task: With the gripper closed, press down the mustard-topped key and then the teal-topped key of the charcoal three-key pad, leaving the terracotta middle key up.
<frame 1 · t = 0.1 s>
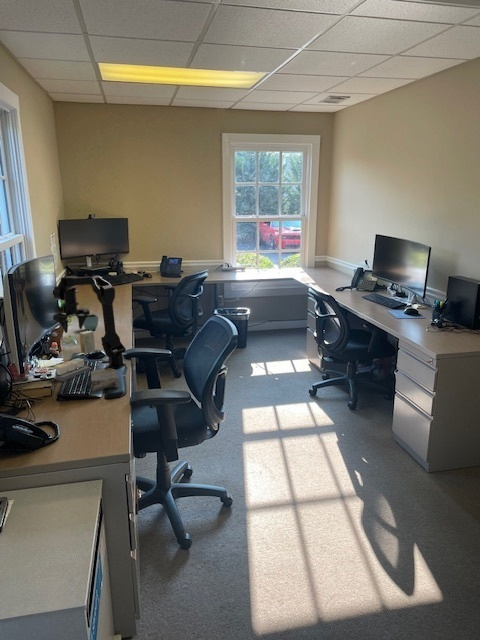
hand: (73, 330, 237), 15 cm above the table, fingers open, 9 cm apart
skincare box: (88, 354, 247), on the table
geological specimen: (104, 385, 203), on the table
key 3: (60, 369, 211), point 4 cm above the table, slide at 0.0 cm
keypad base: (70, 374, 216), on the table
key 2: (69, 366, 215), point 4 cm above the table, slide at 0.0 cm
flower pot: (90, 329, 299), on the table
key 1: (77, 363, 219), point 4 cm above the table, slide at 0.0 cm
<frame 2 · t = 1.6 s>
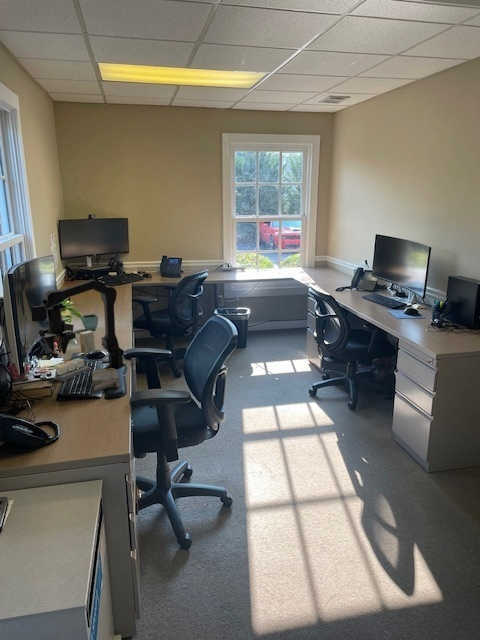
hand: (58, 352, 209), 12 cm above the table, fingers open, 7 cm apart
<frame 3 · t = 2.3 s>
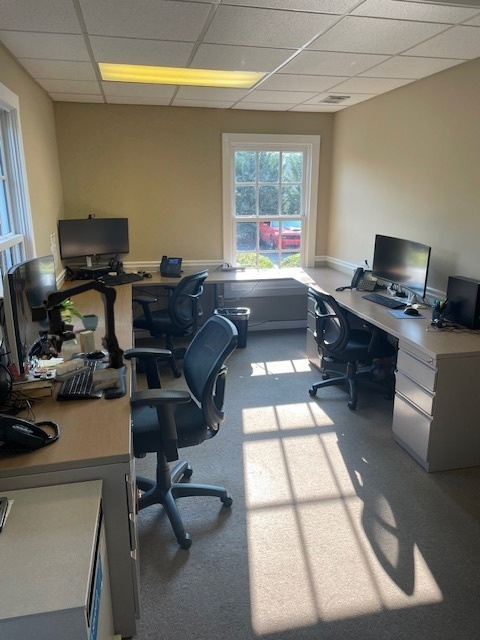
hand: (58, 352, 209), 12 cm above the table, fingers closed
nothing on the table moved.
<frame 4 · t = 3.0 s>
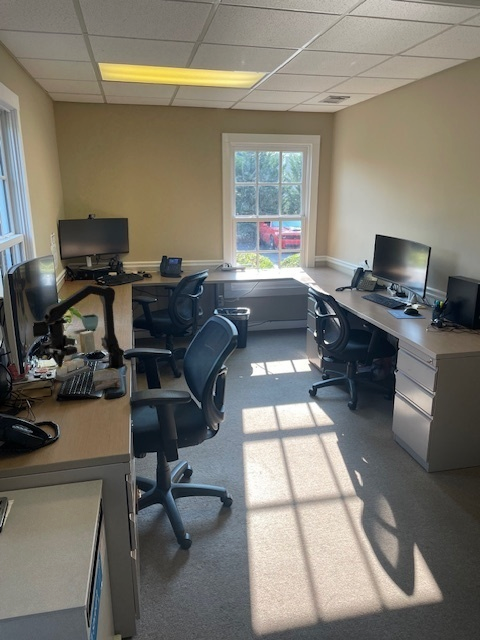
hand: (60, 366, 210), 5 cm above the table, fingers closed, pressing on key 3
key 3: (60, 370, 211), point 4 cm above the table, slide at 0.6 cm, touching gripper
everything else where it was.
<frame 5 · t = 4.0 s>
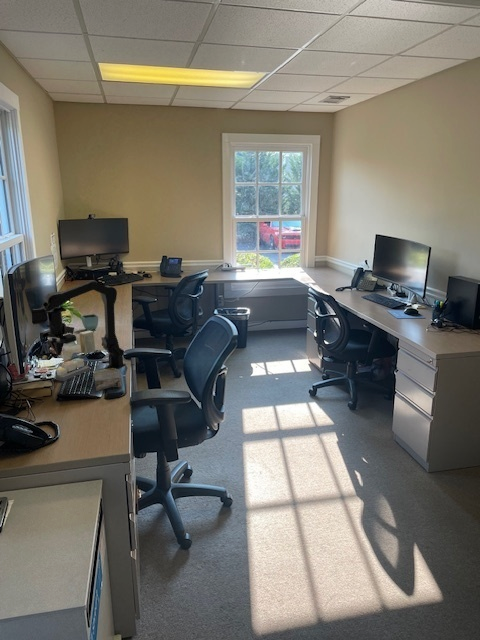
hand: (59, 355, 209), 11 cm above the table, fingers closed
key 3: (60, 372, 211), point 2 cm above the table, slide at 1.7 cm
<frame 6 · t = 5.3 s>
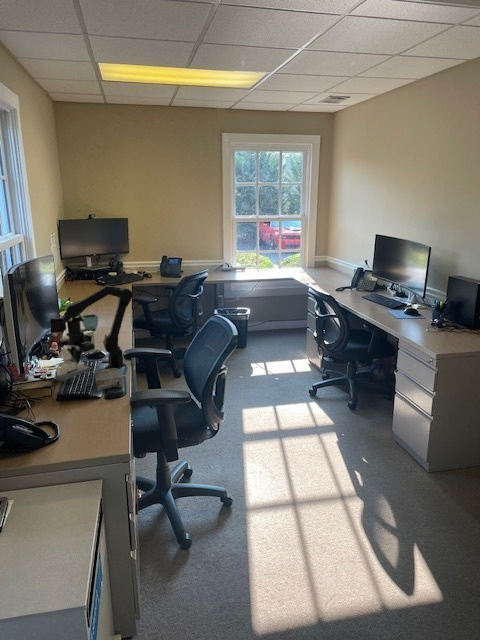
hand: (77, 362, 219), 4 cm above the table, fingers closed, pressing on key 1
key 1: (77, 366, 219), point 3 cm above the table, slide at 1.6 cm, touching gripper
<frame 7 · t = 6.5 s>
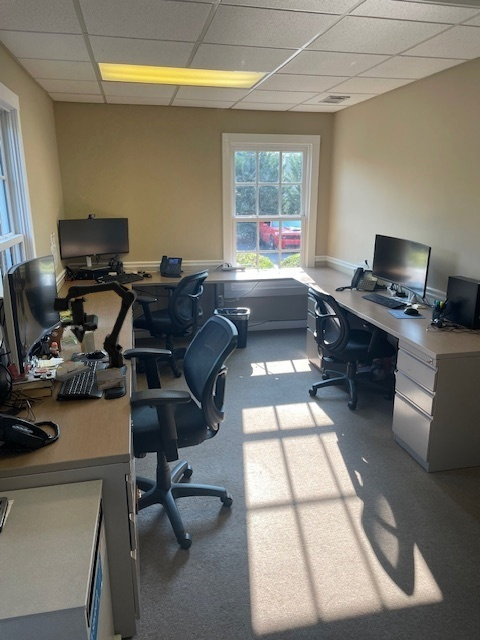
hand: (80, 342, 223), 12 cm above the table, fingers closed
key 1: (77, 366, 220), point 2 cm above the table, slide at 1.7 cm
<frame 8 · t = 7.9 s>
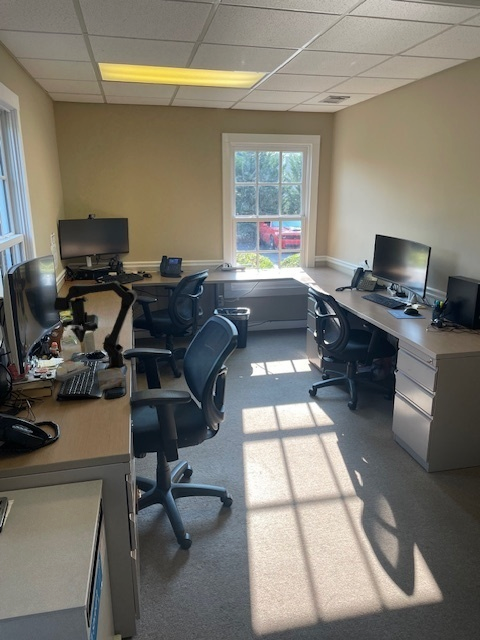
hand: (81, 342, 224), 12 cm above the table, fingers closed
at the end: key 3 slide at 1.7 cm; key 1 slide at 1.7 cm; key 2 slide at 0.0 cm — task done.
